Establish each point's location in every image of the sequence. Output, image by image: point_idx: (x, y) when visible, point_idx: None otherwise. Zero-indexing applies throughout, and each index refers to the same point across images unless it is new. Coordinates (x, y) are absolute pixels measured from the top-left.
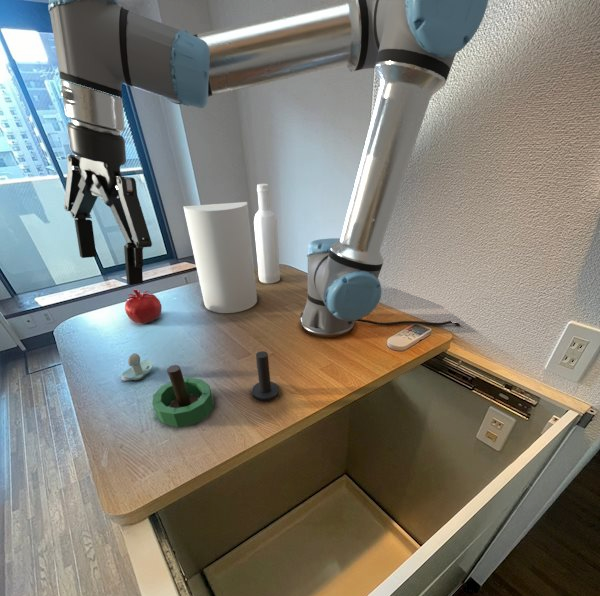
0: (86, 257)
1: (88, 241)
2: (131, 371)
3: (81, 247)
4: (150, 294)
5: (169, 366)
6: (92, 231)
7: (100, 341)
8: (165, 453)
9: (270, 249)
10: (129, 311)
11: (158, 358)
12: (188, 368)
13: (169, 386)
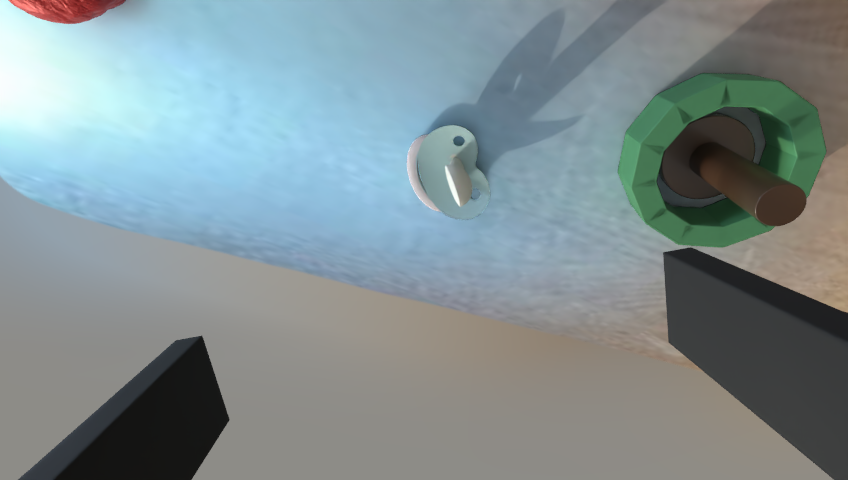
0: (221, 398)
1: (156, 440)
2: (436, 182)
3: (197, 464)
4: None
5: (755, 207)
6: (86, 457)
7: (178, 156)
8: (779, 273)
9: None
10: (77, 17)
11: (406, 75)
12: (543, 33)
13: (656, 173)
